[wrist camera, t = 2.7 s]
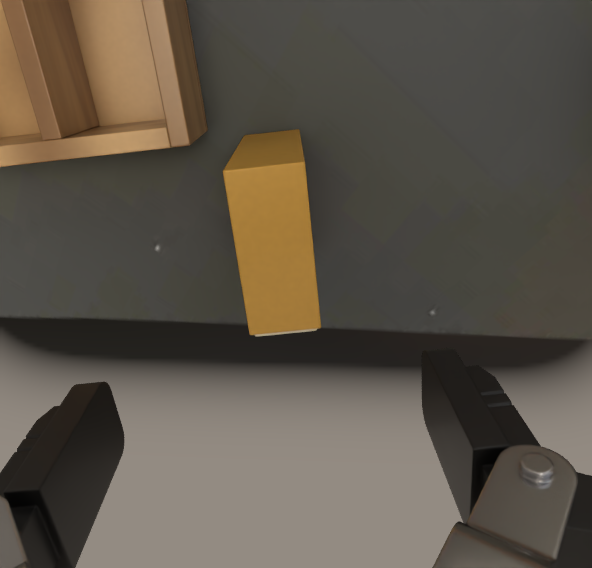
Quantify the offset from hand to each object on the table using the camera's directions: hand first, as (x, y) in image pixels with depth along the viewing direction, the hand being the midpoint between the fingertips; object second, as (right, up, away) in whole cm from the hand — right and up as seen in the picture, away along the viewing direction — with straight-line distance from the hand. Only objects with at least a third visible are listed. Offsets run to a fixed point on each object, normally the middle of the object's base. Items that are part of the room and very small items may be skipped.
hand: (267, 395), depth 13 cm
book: (0, +8, +19) cm, 21 cm away
